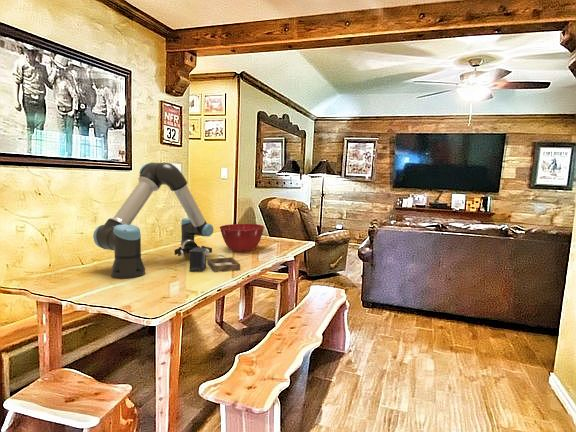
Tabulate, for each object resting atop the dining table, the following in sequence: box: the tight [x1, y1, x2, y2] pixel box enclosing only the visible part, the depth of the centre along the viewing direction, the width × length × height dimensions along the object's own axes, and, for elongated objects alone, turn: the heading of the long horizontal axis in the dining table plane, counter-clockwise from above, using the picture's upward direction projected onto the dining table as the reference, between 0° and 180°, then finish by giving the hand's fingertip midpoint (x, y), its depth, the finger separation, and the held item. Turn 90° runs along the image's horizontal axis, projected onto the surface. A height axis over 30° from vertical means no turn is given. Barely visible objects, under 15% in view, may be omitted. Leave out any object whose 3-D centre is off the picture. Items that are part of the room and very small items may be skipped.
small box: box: [189, 246, 207, 273], centre depth 194 cm, size 11×6×10 cm, turn 179°
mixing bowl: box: [219, 223, 265, 253], centre depth 245 cm, size 28×28×15 cm
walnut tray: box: [207, 256, 241, 273], centre depth 200 cm, size 13×17×3 cm
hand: (195, 254), depth 203 cm, fingers open, 13 cm apart
